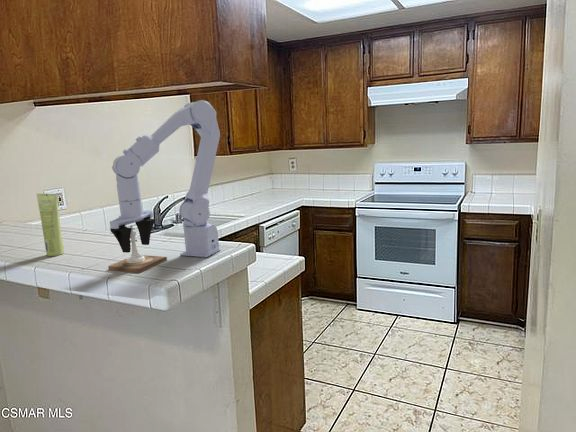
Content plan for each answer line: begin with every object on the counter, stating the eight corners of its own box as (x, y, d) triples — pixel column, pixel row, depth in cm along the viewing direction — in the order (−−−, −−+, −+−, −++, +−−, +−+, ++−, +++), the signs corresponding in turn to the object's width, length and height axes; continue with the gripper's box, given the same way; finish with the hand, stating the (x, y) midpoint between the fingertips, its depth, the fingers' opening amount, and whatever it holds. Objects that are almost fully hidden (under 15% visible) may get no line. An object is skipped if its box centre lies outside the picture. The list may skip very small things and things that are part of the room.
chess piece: (140, 263, 120) (135, 227, 118) (123, 263, 120) (118, 228, 118) (147, 257, 125) (143, 223, 123) (131, 258, 125) (127, 224, 123)
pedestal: (167, 260, 125) (166, 256, 125) (140, 272, 115) (140, 268, 115) (136, 257, 130) (136, 253, 129) (108, 269, 120) (108, 265, 119)
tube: (66, 250, 142) (56, 191, 138) (66, 254, 138) (56, 193, 134) (46, 254, 140) (36, 193, 136) (46, 257, 135) (35, 195, 132)
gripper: (136, 195, 127) (142, 240, 130) (98, 204, 114) (105, 254, 116) (156, 195, 124) (162, 241, 127) (119, 205, 111) (126, 256, 114)
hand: (136, 248), depth 121 cm, fingers open, 7 cm apart
